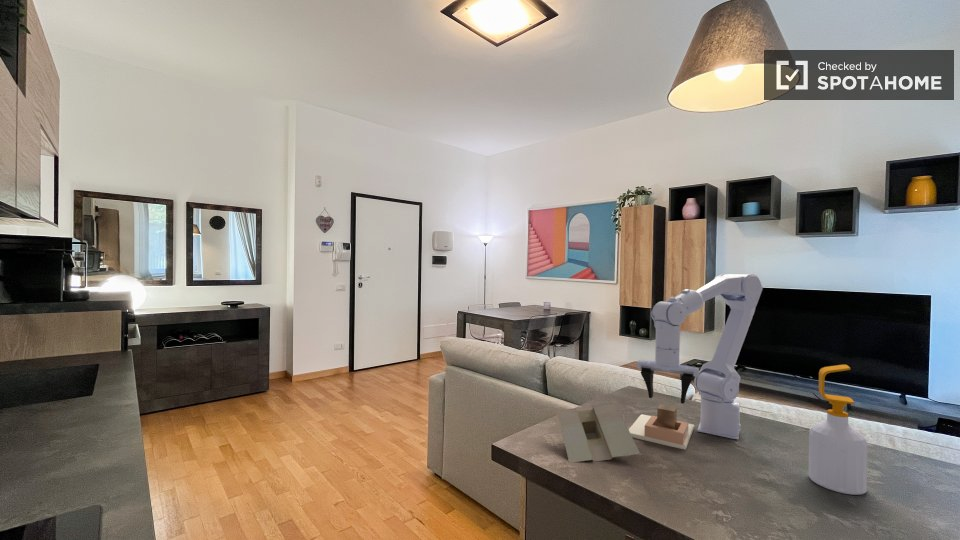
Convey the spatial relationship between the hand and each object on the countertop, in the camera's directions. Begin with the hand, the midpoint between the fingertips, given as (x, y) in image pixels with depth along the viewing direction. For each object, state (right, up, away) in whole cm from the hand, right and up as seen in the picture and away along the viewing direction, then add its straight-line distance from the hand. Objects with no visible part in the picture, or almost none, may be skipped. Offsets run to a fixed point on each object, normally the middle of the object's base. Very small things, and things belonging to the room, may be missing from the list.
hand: (666, 399), depth 107 cm
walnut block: (0, -9, -1) cm, 9 cm away
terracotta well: (0, -9, -1) cm, 9 cm away
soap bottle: (+25, -10, -23) cm, 35 cm away
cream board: (0, -10, +4) cm, 10 cm away
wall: (-21, -10, -8) cm, 25 cm away
